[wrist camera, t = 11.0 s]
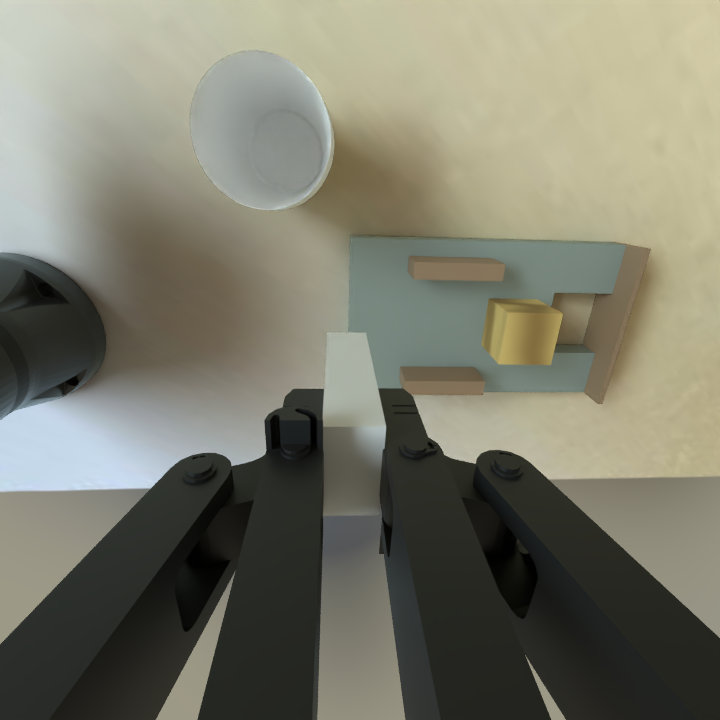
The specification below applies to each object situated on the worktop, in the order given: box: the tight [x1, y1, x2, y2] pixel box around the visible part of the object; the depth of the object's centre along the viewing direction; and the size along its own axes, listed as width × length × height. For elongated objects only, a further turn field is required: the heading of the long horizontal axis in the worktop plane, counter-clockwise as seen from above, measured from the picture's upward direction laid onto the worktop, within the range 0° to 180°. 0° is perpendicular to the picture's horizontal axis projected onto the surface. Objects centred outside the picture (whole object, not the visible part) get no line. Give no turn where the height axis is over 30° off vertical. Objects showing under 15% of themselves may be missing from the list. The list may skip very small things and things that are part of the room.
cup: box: [190, 50, 335, 211], centre depth 30 cm, size 9×9×12 cm
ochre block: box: [481, 298, 563, 365], centre depth 38 cm, size 5×5×5 cm
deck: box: [348, 235, 651, 404], centre depth 40 cm, size 27×16×6 cm, turn 88°
